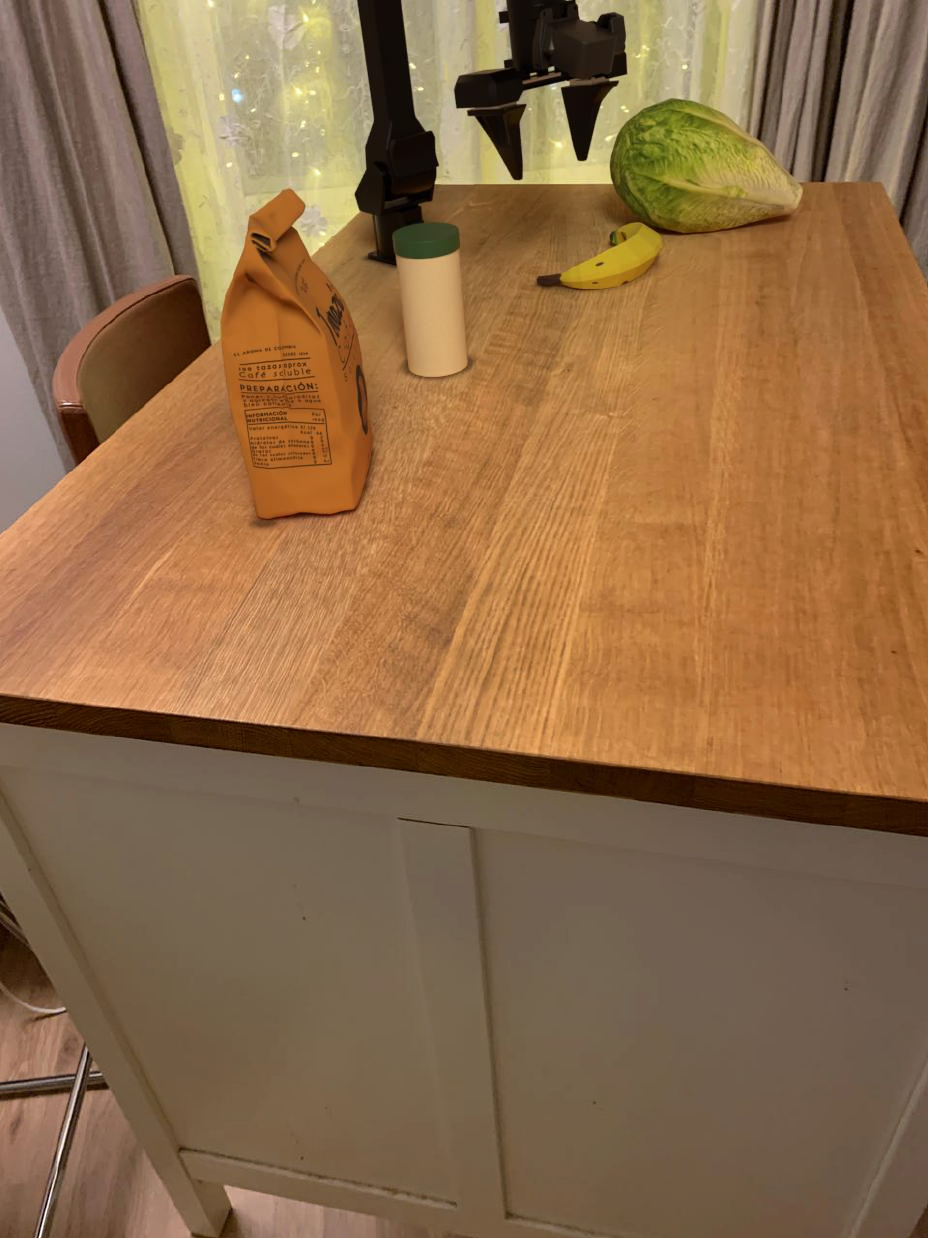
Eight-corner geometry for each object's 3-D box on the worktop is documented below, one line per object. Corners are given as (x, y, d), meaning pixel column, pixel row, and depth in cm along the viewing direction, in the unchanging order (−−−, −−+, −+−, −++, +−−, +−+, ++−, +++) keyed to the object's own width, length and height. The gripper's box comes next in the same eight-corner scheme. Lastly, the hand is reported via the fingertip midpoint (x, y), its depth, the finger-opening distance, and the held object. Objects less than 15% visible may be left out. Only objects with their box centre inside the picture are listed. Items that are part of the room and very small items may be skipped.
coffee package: (393, 449, 84) (358, 179, 71) (363, 527, 75) (315, 229, 61) (283, 450, 86) (228, 185, 73) (239, 525, 76) (165, 235, 63)
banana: (656, 207, 122) (537, 233, 125) (665, 240, 108) (531, 268, 111) (660, 244, 124) (544, 268, 127) (670, 282, 110) (538, 307, 113)
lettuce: (774, 235, 135) (776, 284, 124) (602, 182, 135) (588, 226, 124) (824, 123, 125) (832, 166, 113) (638, 66, 125) (627, 103, 113)
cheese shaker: (394, 367, 99) (378, 235, 91) (439, 348, 102) (427, 218, 94) (437, 382, 95) (424, 246, 87) (481, 361, 98) (472, 228, 90)
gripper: (519, -4, 83) (538, 193, 91) (666, -30, 92) (671, 152, 100) (439, 9, 90) (463, 189, 99) (581, -16, 99) (592, 151, 108)
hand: (550, 170), depth 101 cm, fingers open, 9 cm apart
